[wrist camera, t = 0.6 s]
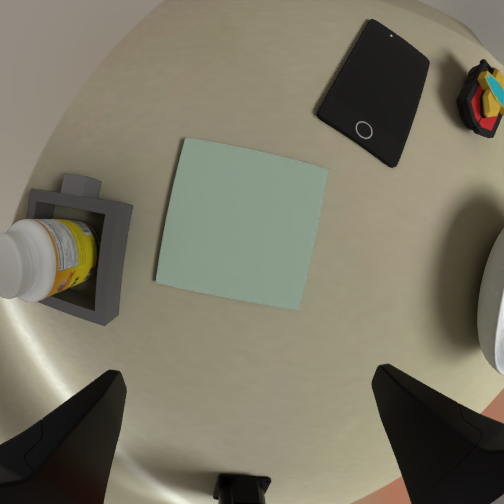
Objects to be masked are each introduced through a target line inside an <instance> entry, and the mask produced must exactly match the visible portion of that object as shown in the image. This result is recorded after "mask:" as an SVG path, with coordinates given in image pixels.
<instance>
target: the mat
mask: <svg viewBox="0 0 504 504" xmlns="http://www.w3.org/2000/svg"><path fill="white" fill-rule="evenodd" d="M327 175H328V169H326V168H323V167H320V166H316V165H312V164H309V163H305V162H301V161H298V160H294V159H290V158H286V157H282V156H278V155H274V154H269V153H265V152H261V151H256V150H251V149H247V148H242V147H237V146H232V145H226V144H221V143H215V142H210V141H204V140H197V139H191V138H185V141H184V144H183V148H182V152H181V156H180V160H179V164H178V168H177V172H176V176H175V180H174V184H173V189H172V193H171V198H170V203H169V207H168V212H167V217H166V222H165V227H164V233H163V238H162V244H161V250H160V256H159V262H158V269H157V275H156V282H155V283H159V284H163V285H168V286H172V287H177V288H181V289H186V290H191V291H195V292H200V293H205V294H210V295H215V296H220V297H225V298H230V299H236V300H241V301H247V302H252V303H258V304H263V305H269V306H275V307H281V308H287V309H294V310H299V308H300V304H301V300H302V296H303V292H304V287H305V283H306V279H307V275H308V270H309V266H310V262H311V257H312V253H313V248H314V243H315V239H316V234H317V229H318V224H319V219H320V214H321V209H322V203H323V198H324V192H325V187H326V181H327Z"/></svg>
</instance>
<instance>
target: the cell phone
mask: <svg viewBox="0 0 504 504" xmlns="http://www.w3.org/2000/svg"><path fill="white" fill-rule="evenodd" d="M429 64H430V62H429V60H428V59H427V58H426V57H425V56H424V55H423V54H422V53H421V52H419V51H418V50H417V49H416V48H414V47H413V46H412V45H410V44H409V43H408V42H407V41H405V40H404V39H403V38H401V37H400V36H398V35H397V34H396V33H394V32H393V31H391V30H390V29H388V28H387V27H385V26H384V25H382V24H381V23H379V22H378V21H376V20H374V19H371V20H370V21H369V23H368V24H367V26H366V28H365V29H364V31H363V33H362V35H361V36H360V38H359V40H358V41H357V43H356V45H355V47H354V48H353V50H352V52H351V54H350V55H349V57H348V59H347V60H346V62H345V64H344V66H343V67H342V69H341V71H340V73H339V74H338V76H337V78H336V80H335V81H334V83H333V85H332V87H331V88H330V90H329V92H328V94H327V95H326V97H325V99H324V101H323V103H322V104H321V106H320V108H319V110H318V111H317V117H318V118H319V119H320V120H322V121H323V122H325V123H326V124H328V125H330V126H331V127H333V128H334V129H336V130H337V131H339V132H341V133H342V134H344V135H345V136H347V137H348V138H350V139H351V140H353V141H354V142H355V143H357V144H358V145H360V146H361V147H363V148H364V149H365V150H367V151H368V152H370V153H371V154H372V155H374V156H375V157H376V158H378V159H379V160H380V161H382V162H383V163H384V164H386V165H387V166H389V167H391V168H393V167H396V166H397V164H398V162H399V159H400V157H401V154H402V151H403V149H404V146H405V143H406V140H407V138H408V135H409V132H410V129H411V126H412V123H413V120H414V117H415V114H416V111H417V108H418V104H419V101H420V98H421V94H422V91H423V87H424V84H425V80H426V76H427V72H428V68H429Z"/></svg>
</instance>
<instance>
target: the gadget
mask: <svg viewBox="0 0 504 504" xmlns="http://www.w3.org/2000/svg"><path fill="white" fill-rule="evenodd" d="M456 101H457V105H458V108H459V112H460V116H461V119H462V121H463V122H464V123H465V125H466V126H467V128H468V129H470V130H473V131H474V133H475V134H478V135H481V136H484V137H487V138H493V137H494V135H495V132H496V130H497V128H498V125H499V123H500V120H501V118H502V116H503V115H504V77H503V76H502V74H501V73H500V71H499V70H497V69H496V68H494V67H492V68H491V66H490V65H489V64H488V63H487V61H486V60H485V59H482V60H481V61H480V64H479V65H477V66H475V67H473V68H472V69H471V70H470V71H469V73H468V76H467V78H466V80H465V86H464V88H463V89H462V91H461V93H460V95H459V97H458V99H457V100H456Z"/></svg>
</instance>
